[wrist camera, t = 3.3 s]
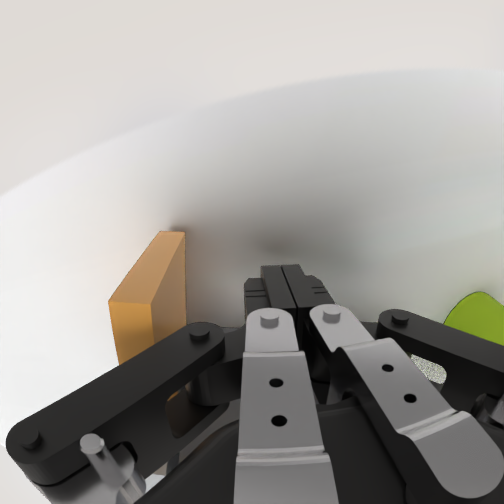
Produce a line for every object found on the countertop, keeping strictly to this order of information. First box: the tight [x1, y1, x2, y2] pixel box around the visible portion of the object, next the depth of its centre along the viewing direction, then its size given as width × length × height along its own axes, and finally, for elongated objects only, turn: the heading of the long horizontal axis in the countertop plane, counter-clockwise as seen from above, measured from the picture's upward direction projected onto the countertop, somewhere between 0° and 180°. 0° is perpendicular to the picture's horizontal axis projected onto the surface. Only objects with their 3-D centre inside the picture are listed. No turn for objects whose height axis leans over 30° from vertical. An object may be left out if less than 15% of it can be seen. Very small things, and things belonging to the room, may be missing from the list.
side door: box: [108, 231, 187, 493], centre depth 14 cm, size 21×1×10 cm, turn 176°
